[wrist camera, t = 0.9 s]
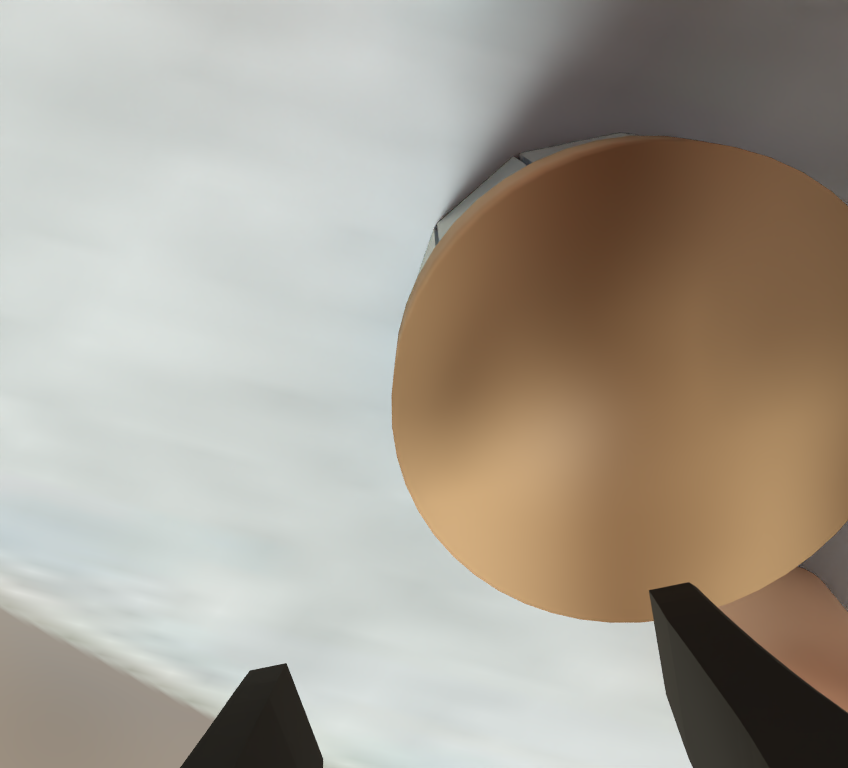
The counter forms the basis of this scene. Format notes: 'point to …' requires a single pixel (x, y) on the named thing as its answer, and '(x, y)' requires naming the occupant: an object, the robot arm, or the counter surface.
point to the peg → (800, 630)
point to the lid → (631, 377)
